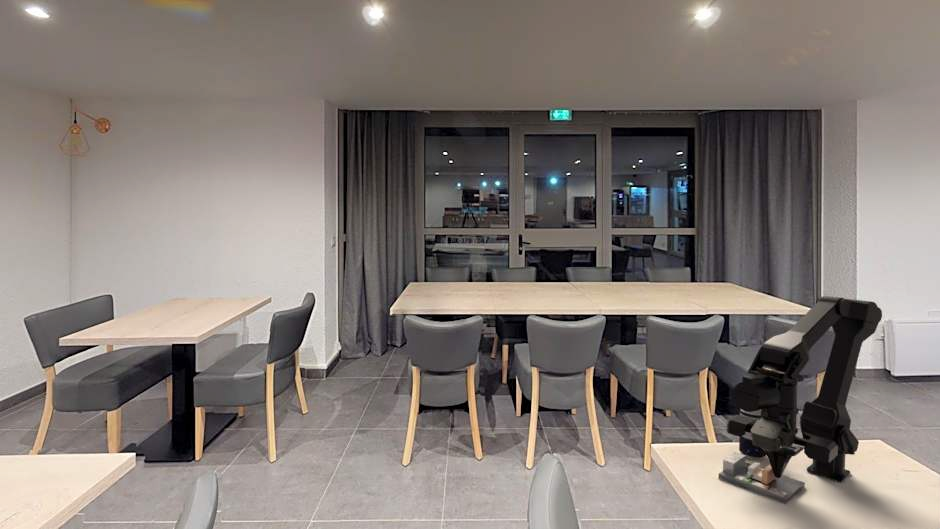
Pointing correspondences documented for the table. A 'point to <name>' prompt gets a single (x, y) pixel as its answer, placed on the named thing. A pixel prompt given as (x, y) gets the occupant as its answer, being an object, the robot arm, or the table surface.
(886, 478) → the table surface
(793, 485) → the frame
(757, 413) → the beverage can
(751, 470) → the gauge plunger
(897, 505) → the table surface
